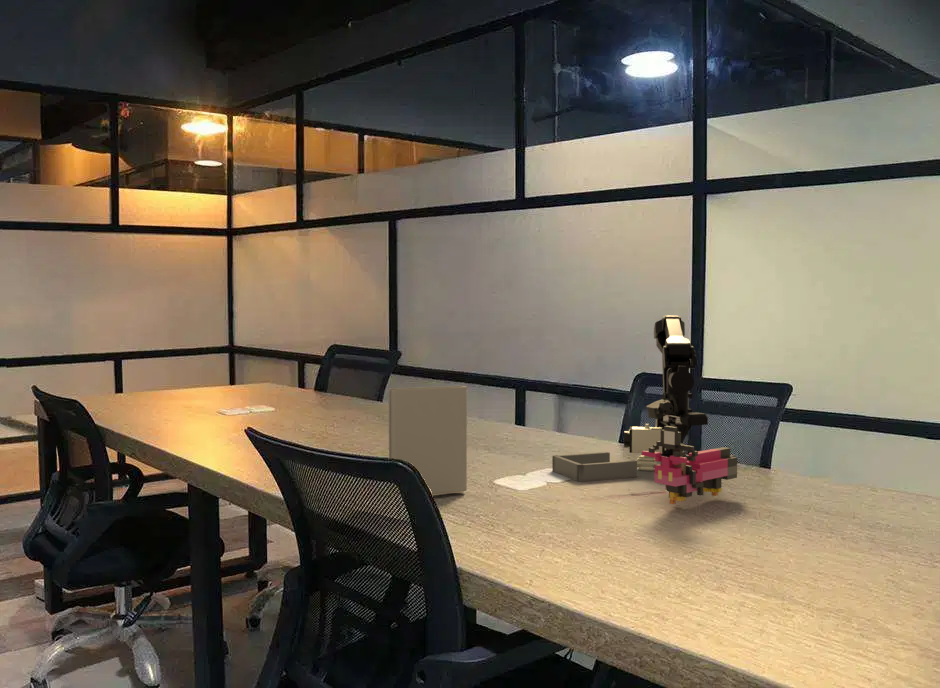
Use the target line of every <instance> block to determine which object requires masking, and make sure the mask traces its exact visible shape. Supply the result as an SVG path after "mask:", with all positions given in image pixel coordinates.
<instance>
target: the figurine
mask: <svg viewBox="0 0 940 688" xmlns="http://www.w3.org/2000/svg"><path fill="white" fill-rule="evenodd" d="M659 446H662V447H664V448H669V449H673V455H671V456H670V457H665V456H661V452H657V451H656V450H659ZM686 451H688V452H689V453H688V455H686ZM685 455H686V456H685ZM641 456H648V457H654V459H655V461H657V463H658V462H659V464H657V465H655V468H654V483H655V484H660V485H665V488H664V489H665V490H666V491H667V492H668V499H669V504H671V505H675V504H676V503H677V502H684V501H686V498H689V497H690V498H691V497H692V496H693V493H694V492H696V495H697V496H704V493H711V496H713V497H717V496H718V495H719V494H718V493H722V480H734V479H738V457H736V455H734V454H731V447H726V446H725V447H724V446H723V447H722V446H721V447H717V448H711V449H710V448H709V449H704V450H699V451H697V450H695V445H694V446H693V445H687V444H684V443H683V444H681V432H677V427H671V426H664V430H661V441H656V445H653V448H649V451H642V455H641Z"/></svg>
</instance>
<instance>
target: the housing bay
mask: <svg viewBox="0 0 940 688" xmlns="http://www.w3.org/2000/svg"><path fill="white" fill-rule="evenodd" d="M610 460H611V453H610V452H609V451H601V452H586V453H585V452H584V453H571V454H558V455H557V454H556V455H552V471H551V472H554V473H555V474H559V475H561V476H564V477H566V478H568V479H572V480H574V481H576V482H578V483H580V482H592V481H602V480H603V481H604V480H617V479H628V478H629V479H631V478H637V477H638V467H637V460H635V459H633V460H620V461H619V460H618V461H610Z"/></svg>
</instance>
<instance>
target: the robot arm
mask: <svg viewBox="0 0 940 688" xmlns="http://www.w3.org/2000/svg"><path fill="white" fill-rule="evenodd" d="M685 325H686V324H685V322H684V321H683V320H682V317H681V316H679V315H664V316H662V318H661V319H660V320H657V321H656V322H655V323H654V325H653V326H654V327H653V339H655V343H656V348H658V350H659V352H660V353H661V359H662V361H661V362H662V389H663V391H662V392H663V393H662V395H661V397H662V398H661V399H659V400H656V401H653V402H652V403H650V404H647V405H646V411H647V413H648V418H651V419H655V424H654V427H663V428H664V426H671V427H677V432H681V444H683V445H684V440H685V439H686V437H687V436H688V435H689V432H690V430H691V428H692V427H694V426H706V425H707V426H708V425H709V416H708V415H707V414H706V413H704V412H703V413H702V412H698V411H697V412H693V409H692V408H690V407H689V406H690V403H689V401H690V399H691V398H693V393H690V391H691V390H692V389H693V387H694V384H695V378H694V377H693V374H692V373H690V369H696V366H697V362H698V359H697V354H696V353H697V352H696V350H695V347H694V346H693V345H692V344H691V343H692V342H691V341H690V339H689V338H687V337H685V335H686V328H685V327H686V326H685ZM671 455H673V449H666V450H665V454H661V456H665V457H670V456H671ZM685 456H687V454H685Z"/></svg>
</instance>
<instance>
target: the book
mask: <svg viewBox="0 0 940 688" xmlns="http://www.w3.org/2000/svg"><path fill="white" fill-rule="evenodd" d="M467 393H468V387H467V386H466V385H445V386H443V385H442V386H441V385H440V386H423V387H398V388H396V387H395V388H388V459H389V458H398V459H402V460H406V461H408V462H410V463H412V464H413V465H414V466H415V467H416V468H417V469H418V470H419V471H420V473H421V474H422V476H423V478H424V479H425V481H426V483H427V485H428V486H429V488H430V489H431V491H432V494H433V496H434V495H442V494H443V495H444V494H452V493H453V494H454V493H462V492H466V491H468V489H467V488H468V487H467V483H468V482H467V478H468V477H467V469H468V468H467V467H468V466H467V465H468V464H467V459H468V458H467V457H468V455H467V454H468V453H467V451H468V450H467V449H468V447H467V446H468V445H467V444H468V443H467V441H468V439H467V436H468V435H467V433H468V432H467V431H468V429H467V428H468V427H467V424H468V422H467V421H468V419H467V418H468V417H467V416H468V414H467V413H468V411H467V409H468V407H467V404H468V403H467V400H468V399H467V398H468V396H467Z"/></svg>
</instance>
